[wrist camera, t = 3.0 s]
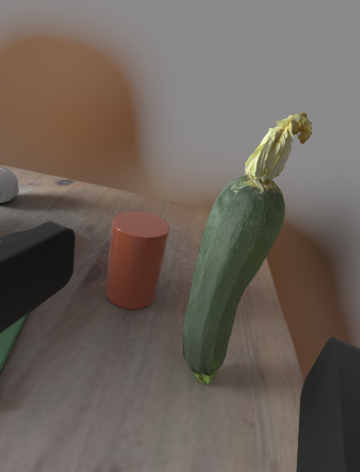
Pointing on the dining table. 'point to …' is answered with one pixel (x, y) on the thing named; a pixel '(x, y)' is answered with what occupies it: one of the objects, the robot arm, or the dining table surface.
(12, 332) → the green mat
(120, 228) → the orange cylinder block
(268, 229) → the vegetable
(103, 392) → the dining table surface
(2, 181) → the garlic
